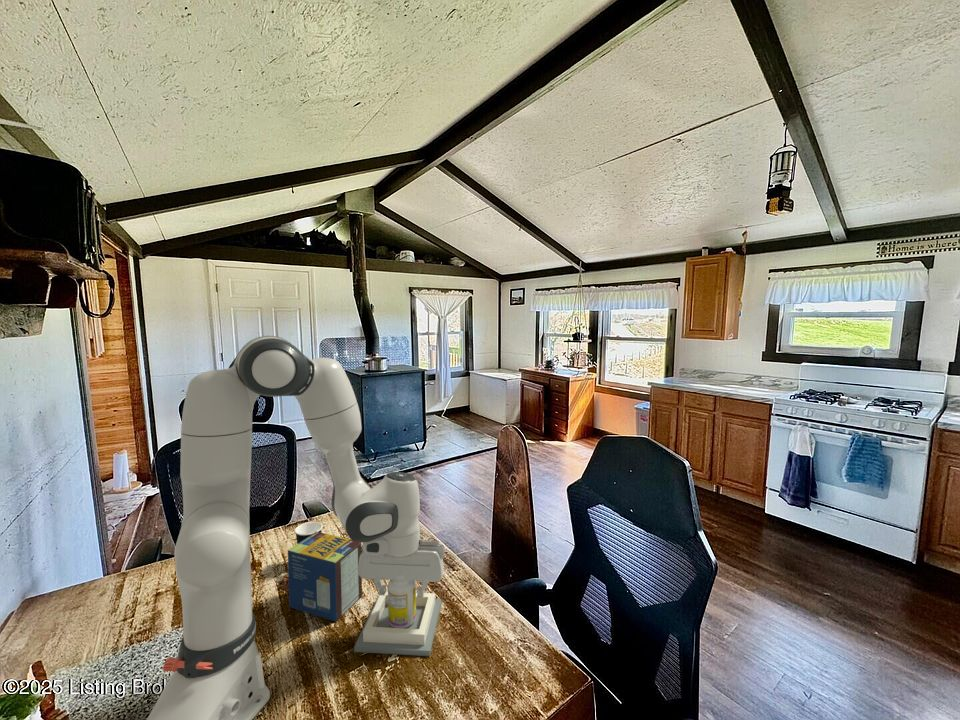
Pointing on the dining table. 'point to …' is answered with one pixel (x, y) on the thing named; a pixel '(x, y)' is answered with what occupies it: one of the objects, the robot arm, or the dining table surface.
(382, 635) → the picture frame
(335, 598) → the protein box
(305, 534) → the dixie cup
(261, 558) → the dining table surface
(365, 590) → the dining table surface
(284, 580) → the pastry
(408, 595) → the supplement bottle
